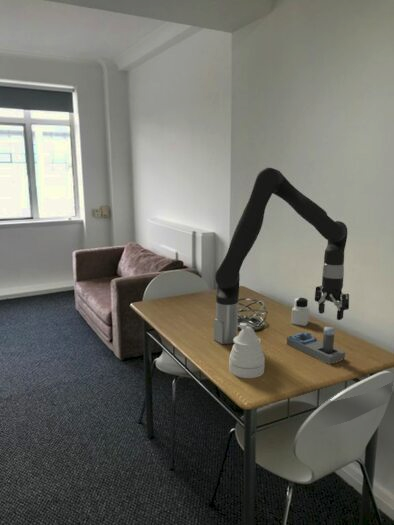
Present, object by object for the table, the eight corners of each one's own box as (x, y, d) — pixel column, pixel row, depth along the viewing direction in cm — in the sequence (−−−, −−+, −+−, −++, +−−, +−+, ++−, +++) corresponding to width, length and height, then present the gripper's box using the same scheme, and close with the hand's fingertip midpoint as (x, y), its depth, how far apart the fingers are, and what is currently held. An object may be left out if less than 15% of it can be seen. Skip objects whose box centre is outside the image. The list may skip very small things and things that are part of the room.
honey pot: (239, 380, 147) (241, 332, 143) (223, 365, 159) (223, 320, 155) (271, 373, 152) (273, 326, 148) (252, 359, 164) (254, 315, 160)
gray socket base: (344, 359, 164) (345, 347, 163) (329, 364, 159) (330, 352, 158) (301, 339, 182) (302, 328, 181) (286, 344, 178) (287, 332, 177)
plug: (327, 360, 163) (329, 331, 160) (319, 356, 166) (321, 327, 163) (334, 358, 165) (337, 329, 162) (326, 354, 168) (328, 325, 165)
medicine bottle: (308, 321, 204) (310, 297, 202) (305, 326, 198) (307, 301, 195) (293, 319, 207) (295, 295, 205) (290, 323, 201) (291, 299, 198)
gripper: (311, 272, 162) (309, 312, 166) (341, 280, 150) (338, 323, 154) (324, 270, 166) (322, 309, 170) (355, 277, 154) (352, 319, 158)
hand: (330, 316), depth 162 cm, fingers open, 8 cm apart
